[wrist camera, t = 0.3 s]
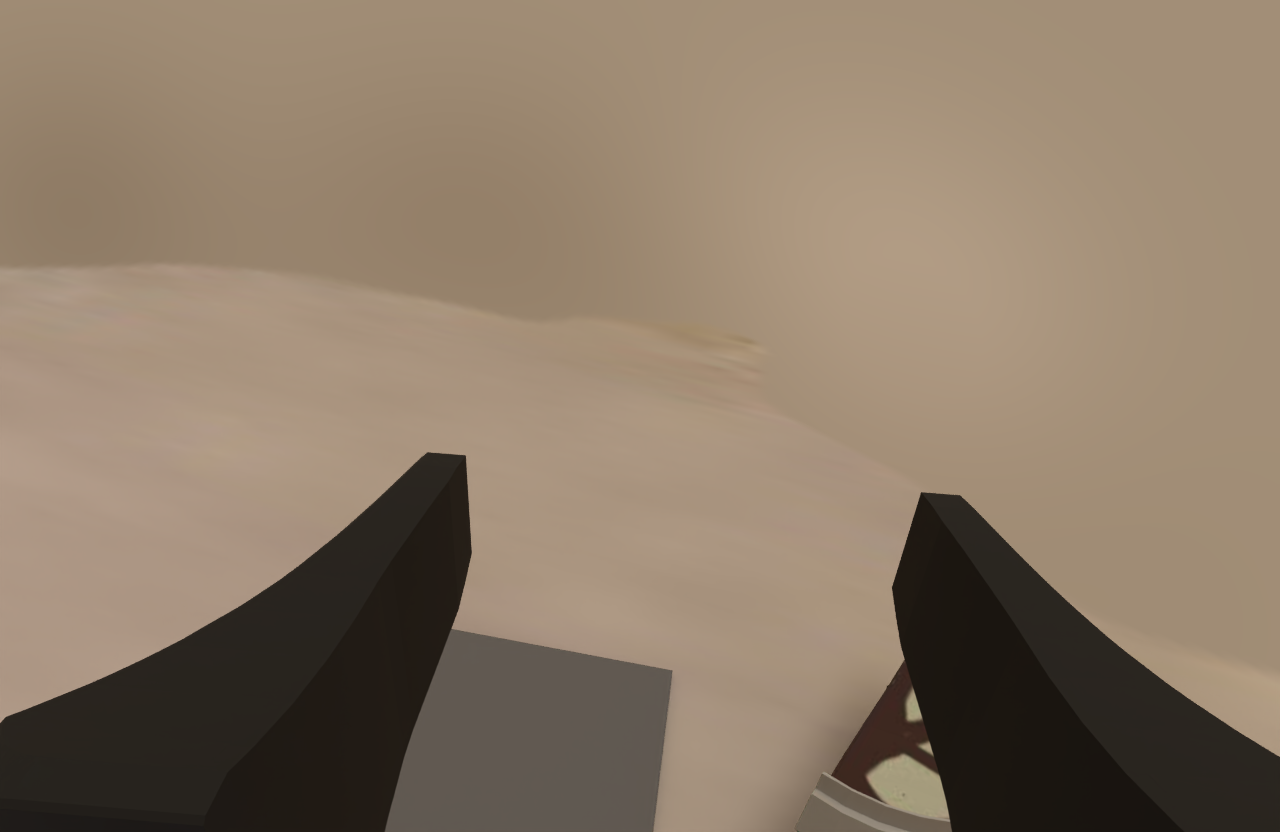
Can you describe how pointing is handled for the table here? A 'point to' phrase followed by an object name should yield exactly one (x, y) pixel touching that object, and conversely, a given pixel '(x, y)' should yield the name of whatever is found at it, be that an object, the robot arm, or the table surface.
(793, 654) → the table surface
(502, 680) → the rubber mat
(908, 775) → the food container
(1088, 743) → the robot arm
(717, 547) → the table surface
